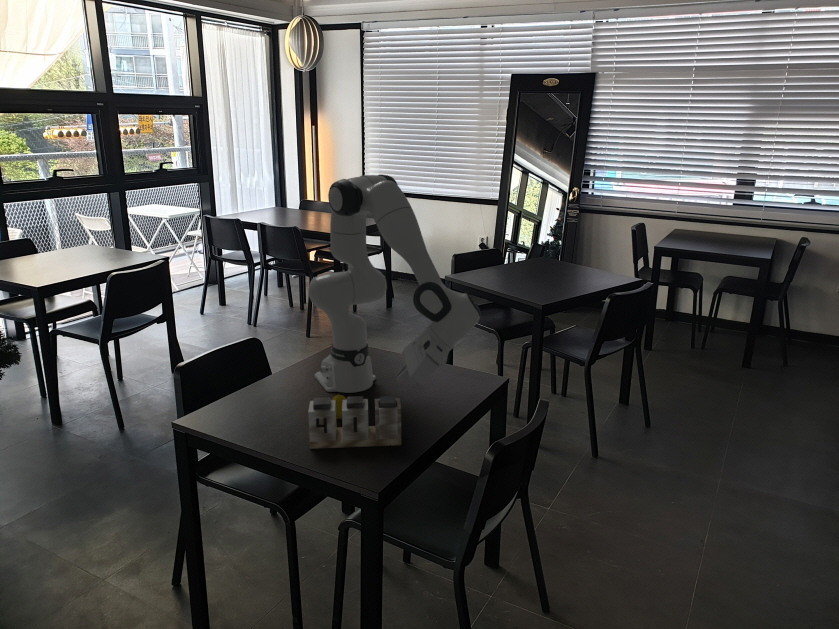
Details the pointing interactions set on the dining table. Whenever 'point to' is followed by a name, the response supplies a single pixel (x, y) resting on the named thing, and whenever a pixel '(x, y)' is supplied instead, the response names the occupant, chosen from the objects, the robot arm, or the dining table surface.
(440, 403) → the dining table surface
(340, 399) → the lemon
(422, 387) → the dining table surface
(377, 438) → the button panel
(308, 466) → the dining table surface
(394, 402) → the plain button
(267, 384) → the dining table surface
